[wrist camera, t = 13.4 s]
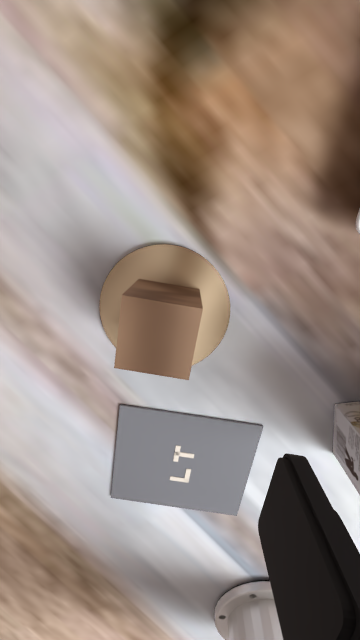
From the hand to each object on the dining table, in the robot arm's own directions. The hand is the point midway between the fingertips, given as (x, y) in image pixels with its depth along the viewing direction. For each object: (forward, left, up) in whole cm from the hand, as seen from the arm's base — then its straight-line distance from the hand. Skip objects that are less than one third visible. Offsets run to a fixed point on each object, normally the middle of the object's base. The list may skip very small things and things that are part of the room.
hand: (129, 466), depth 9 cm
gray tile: (-4, +15, -16) cm, 22 cm away
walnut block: (0, -1, -15) cm, 15 cm away
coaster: (0, -1, -16) cm, 16 cm away
